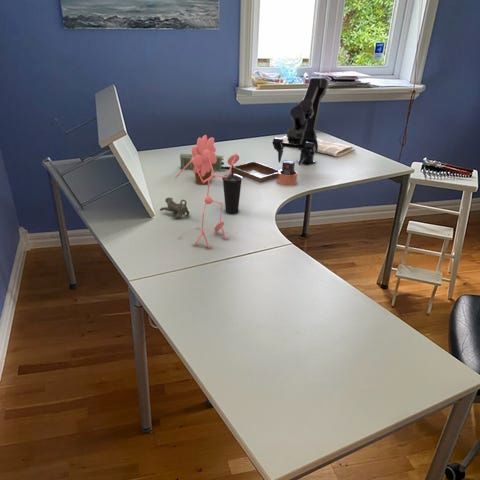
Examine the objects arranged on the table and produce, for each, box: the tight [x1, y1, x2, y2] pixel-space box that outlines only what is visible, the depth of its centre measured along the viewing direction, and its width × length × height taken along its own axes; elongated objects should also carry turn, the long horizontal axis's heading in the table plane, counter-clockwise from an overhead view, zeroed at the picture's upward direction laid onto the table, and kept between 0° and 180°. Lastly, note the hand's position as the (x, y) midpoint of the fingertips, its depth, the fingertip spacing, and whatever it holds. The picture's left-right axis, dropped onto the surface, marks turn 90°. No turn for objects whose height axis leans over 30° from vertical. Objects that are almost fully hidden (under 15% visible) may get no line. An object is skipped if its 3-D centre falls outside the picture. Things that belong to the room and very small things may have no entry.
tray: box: [233, 160, 281, 184], centre depth 227 cm, size 14×19×3 cm
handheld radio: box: [179, 153, 230, 172], centre depth 230 cm, size 7×3×25 cm
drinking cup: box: [221, 165, 243, 215], centre depth 186 cm, size 8×8×20 cm
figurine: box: [174, 134, 240, 249], centre depth 162 cm, size 15×26×35 cm, turn 142°
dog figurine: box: [159, 197, 190, 220], centre depth 185 cm, size 12×6×7 cm, turn 53°
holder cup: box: [277, 169, 298, 186], centre depth 218 cm, size 8×8×5 cm
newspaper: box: [280, 135, 354, 157], centre depth 266 cm, size 37×19×3 cm, turn 50°
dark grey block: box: [281, 160, 296, 175], centre depth 216 cm, size 3×5×9 cm, turn 68°
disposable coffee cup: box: [192, 155, 212, 185], centre depth 215 cm, size 10×10×12 cm
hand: (288, 163), depth 215 cm, fingers open, 9 cm apart
